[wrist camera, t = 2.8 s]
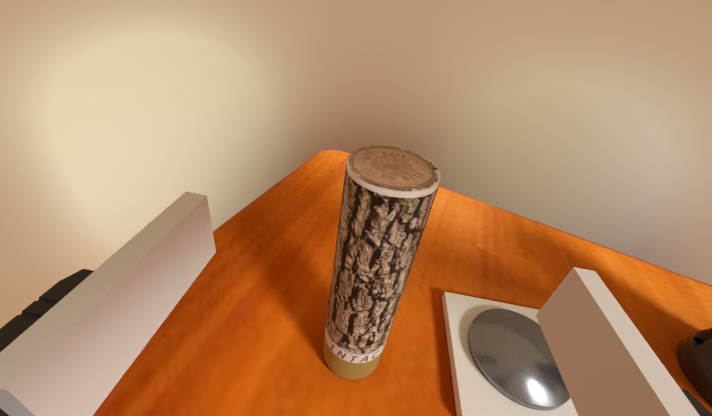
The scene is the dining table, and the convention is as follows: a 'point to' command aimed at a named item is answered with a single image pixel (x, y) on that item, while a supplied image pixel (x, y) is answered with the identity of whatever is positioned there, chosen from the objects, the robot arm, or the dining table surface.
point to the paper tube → (374, 252)
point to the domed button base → (501, 360)
